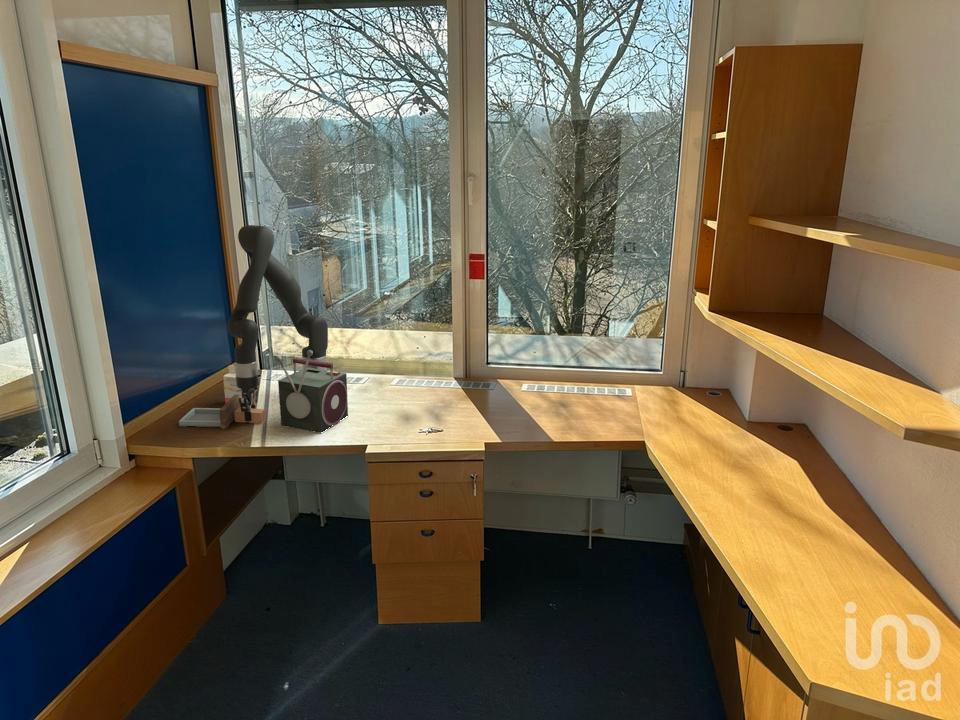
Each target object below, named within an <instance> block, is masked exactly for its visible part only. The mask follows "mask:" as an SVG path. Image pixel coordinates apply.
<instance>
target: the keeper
mask: <svg viewBox="0 0 960 720" xmlns="http://www.w3.org/2000/svg"><path fill="white" fill-rule="evenodd" d="M221 408H222V407H219V408H212V407H211V408H210V407H204V408H203V407H193V408H192V409H191V410H190V411H188V412H187V413H186V414H185V415H184V416H183V417H181V418H180V419H179V420H178V426H179V427H187V426H196V428H197V427H201V428H203V427H204V428H221V422H220V412H219V410H220V409H221Z"/></svg>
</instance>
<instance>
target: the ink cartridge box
mask: <svg viewBox="0 0 960 720" xmlns="http://www.w3.org/2000/svg"><path fill="white" fill-rule="evenodd" d="M227 368H228V369H227V370H228V373H226V374H224V375H223V376H222V378H223V391H224V400H225V404H226V403H227V402H228V401H229V400H230V399H231V398H232V397H233V396H234V395H235V394H239V397H240V398H242V397H241V393H242V389H240V388H238V387H237V384H236V373H235V365H231V364H229V365H228V366H227ZM225 404H224V405H225Z"/></svg>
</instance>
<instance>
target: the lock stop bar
mask: <svg viewBox="0 0 960 720" xmlns="http://www.w3.org/2000/svg"><path fill="white" fill-rule="evenodd" d="M234 415H235V419H234V422H235V423H246V422H249V424H259V425H261V424H264V422H266V421H267V411H266V408H255V409H254V408H251V418H252V420H251V421H245V416H244V412H241V407H239V408H238V409H237V410H235V411H234Z"/></svg>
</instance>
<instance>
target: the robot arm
mask: <svg viewBox="0 0 960 720" xmlns="http://www.w3.org/2000/svg"><path fill="white" fill-rule="evenodd" d="M237 239H238V243H239V244H240V247H241V249H242V250H243V251H244V252H245V253H246V255H247V256H248V257H249V258H250V261H251V262H250V265H249V267H248V269H247V271H246V272H245V273H244V276H243V277H242V279H241V281H240V283H239V286H238V290H237V291H238V292H237V297H236V303H235V306H234V308H233V311H232V313H231V315H230V317H229V318H228V322H227V331H228V333H229V335H230V336H231V337H233V338H236V339H237V338H238V339H241V343H240V344H238V345H236V346H235V347H234V362H235V365H234V366H235V373H236V384H237V387H238V388H240V389H242V393H241V397H242V398H239V403H240V407H241V412H244V416H245V421H251V420H252V418H251V408H254V409H256V405H257V403H258V392H259V390H258V388H259V385H260V384H259V383H260V382H259V368H258V364H257V363H258V362H257V354H256V348H257V344H258V339H259V335H260V334H259V332H260V331H259V326H258V324H257V322H255V320H253V319H249V318H248V316H249V315H250V314H251V313H255V312H257V310H258V306H259V298H260V293H261V292H260V291H261V287H262V283H263V279H264V280H265V281H266V282H267V284H268V285H269V287H270V289H271V291H272V292H273V293H274V295H275V297H277V299H278V300H279V302H280V304H281V305H282V307H283V308H284V310H285V311H286V313H287V314H288V316H289V318H290V320H291V322H292V324H293V326H294V328H295V330H296V332H297V334H299V336H301V337H303V338H307V339H308V345H307V346H304V347H303V348H302V349H301V358H302V359H307V357H308V355H307V351H308V350H311V351H312V352H313V354H312V356H310V358H309V360H315V361H322V362H327V350H328V348H329V347H328V346H329V326H328V323H327V320H326V319H325V318H324V317H322V316H319V315H314V314H311V313H310V312H309V311H308V310H307V309H306V306H305V305H304V303H303V302H302V291H301V287H300V285H299V282H298V281H297V279H296V278H295V276H294V274H293V273H292V272H291V270H290V269H289V268H287V267H286V266H285V265H284V264H283V263H282V262H281V261H280V260H278V259H277V257H275V256H274V255H273V254H272V252H273V248H274V244H275V235H274V232H273V230H272V229H271V228H270V227H267V226H266V225H265V226H263V225H253V224H248V225H244V226H242V227H241V228H240V229H239V230H238V233H237ZM307 367H309V368H315V369H322V370H328V368H324V367H318V366H311V365H308V366H307ZM304 368H305V364H302V369H304Z"/></svg>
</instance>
